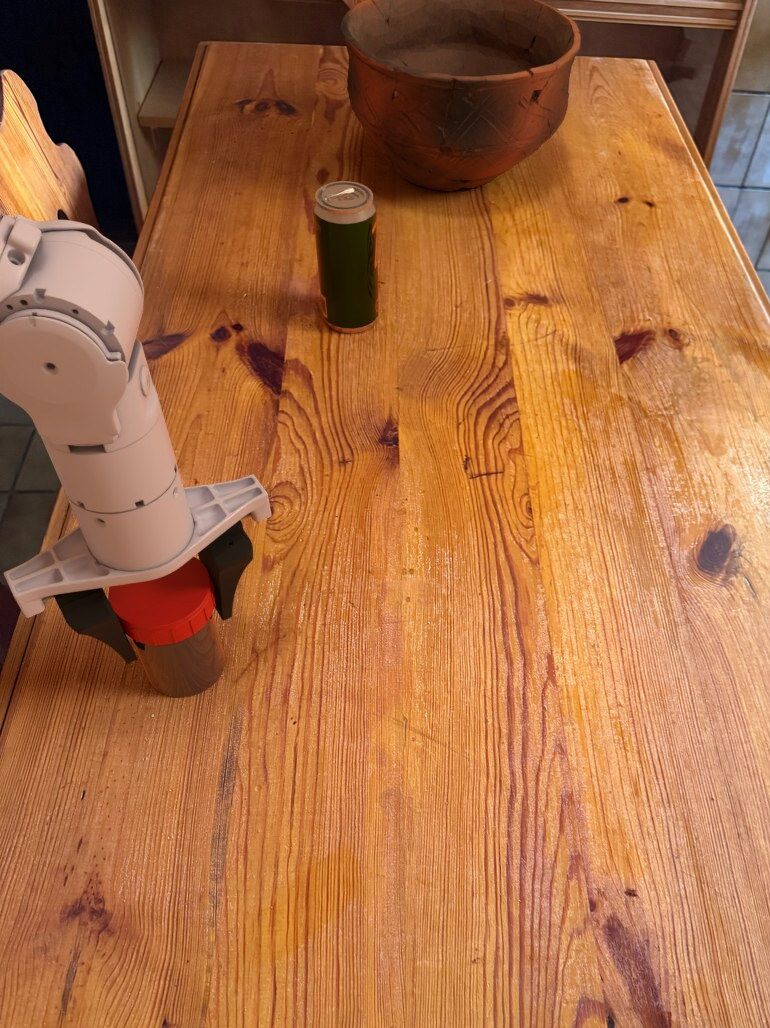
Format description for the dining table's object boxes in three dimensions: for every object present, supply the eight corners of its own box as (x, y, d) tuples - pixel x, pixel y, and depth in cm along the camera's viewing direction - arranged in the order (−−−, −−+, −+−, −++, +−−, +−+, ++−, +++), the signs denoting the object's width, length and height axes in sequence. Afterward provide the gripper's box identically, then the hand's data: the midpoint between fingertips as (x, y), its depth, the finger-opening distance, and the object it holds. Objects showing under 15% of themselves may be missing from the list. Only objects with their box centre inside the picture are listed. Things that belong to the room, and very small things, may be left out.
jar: (142, 699, 58) (112, 631, 52) (150, 635, 61) (123, 564, 55) (223, 695, 58) (202, 627, 52) (227, 631, 62) (208, 560, 56)
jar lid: (165, 554, 57) (159, 534, 56) (236, 597, 55) (231, 577, 54) (94, 615, 54) (85, 595, 53) (166, 662, 52) (159, 644, 51)
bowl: (536, 243, 94) (556, 91, 82) (316, 202, 97) (304, 50, 85) (578, 139, 109) (600, -2, 97) (385, 106, 112) (384, -34, 100)
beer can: (335, 341, 82) (326, 217, 73) (313, 309, 85) (302, 186, 76) (388, 327, 84) (386, 204, 74) (365, 296, 87) (360, 175, 77)
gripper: (219, 384, 50) (253, 543, 61) (-47, 478, 45) (41, 633, 56) (274, 458, 47) (300, 613, 57) (-7, 569, 42) (79, 716, 52)
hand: (175, 628), depth 56 cm, fingers closed on jar lid, 6 cm apart
